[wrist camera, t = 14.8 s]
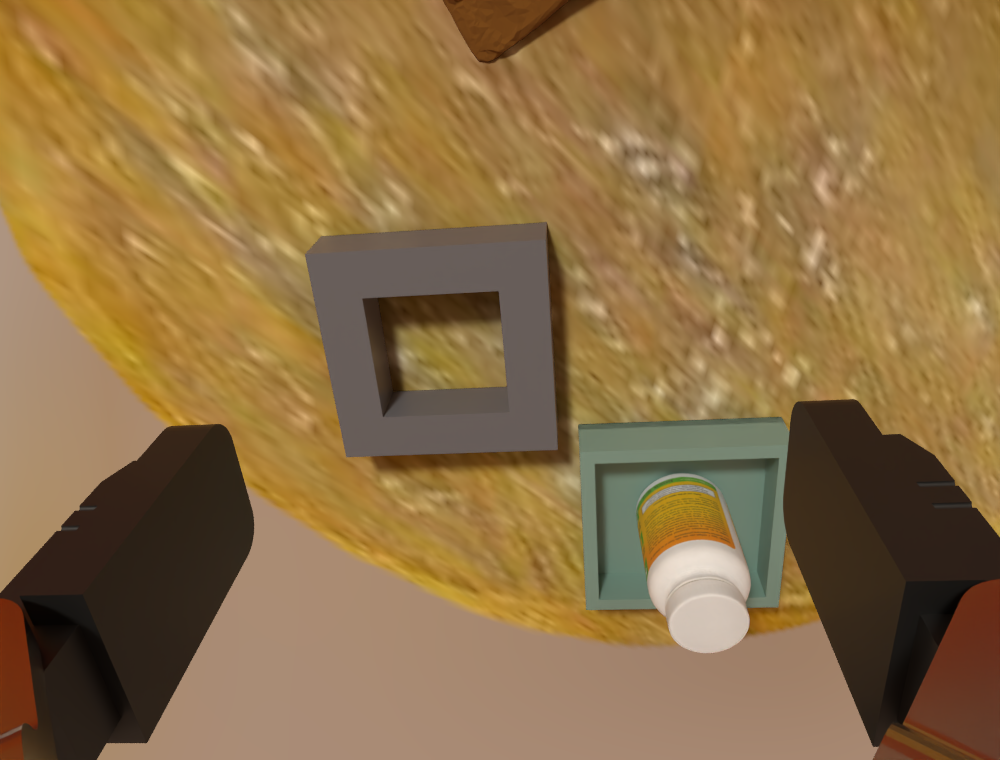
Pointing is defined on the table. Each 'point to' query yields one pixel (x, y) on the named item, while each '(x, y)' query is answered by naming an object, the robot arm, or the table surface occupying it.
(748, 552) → the tray
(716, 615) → the supplement bottle
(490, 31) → the primitive tool
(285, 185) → the table surface
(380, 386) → the socket block
